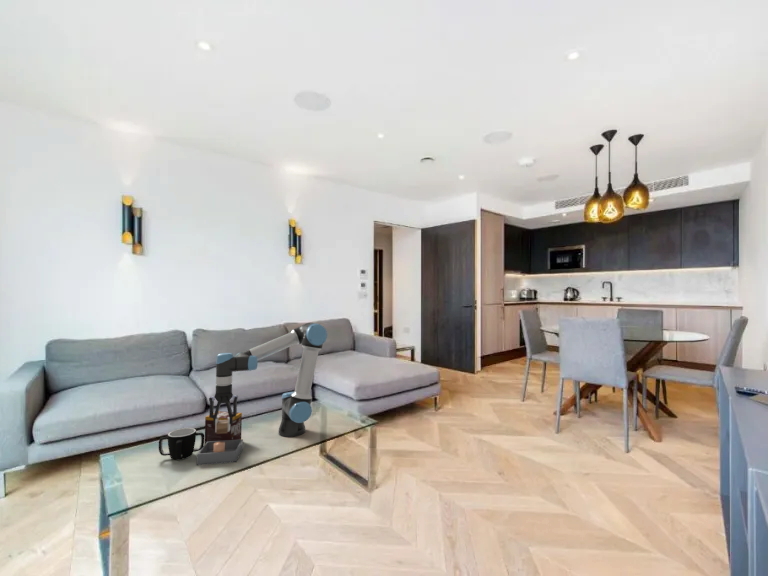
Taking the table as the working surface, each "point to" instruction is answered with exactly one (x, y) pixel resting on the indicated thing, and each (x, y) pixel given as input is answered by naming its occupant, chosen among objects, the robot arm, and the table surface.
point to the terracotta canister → (219, 447)
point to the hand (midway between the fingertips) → (222, 430)
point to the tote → (229, 456)
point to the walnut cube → (222, 426)
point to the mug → (181, 443)
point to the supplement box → (231, 435)
